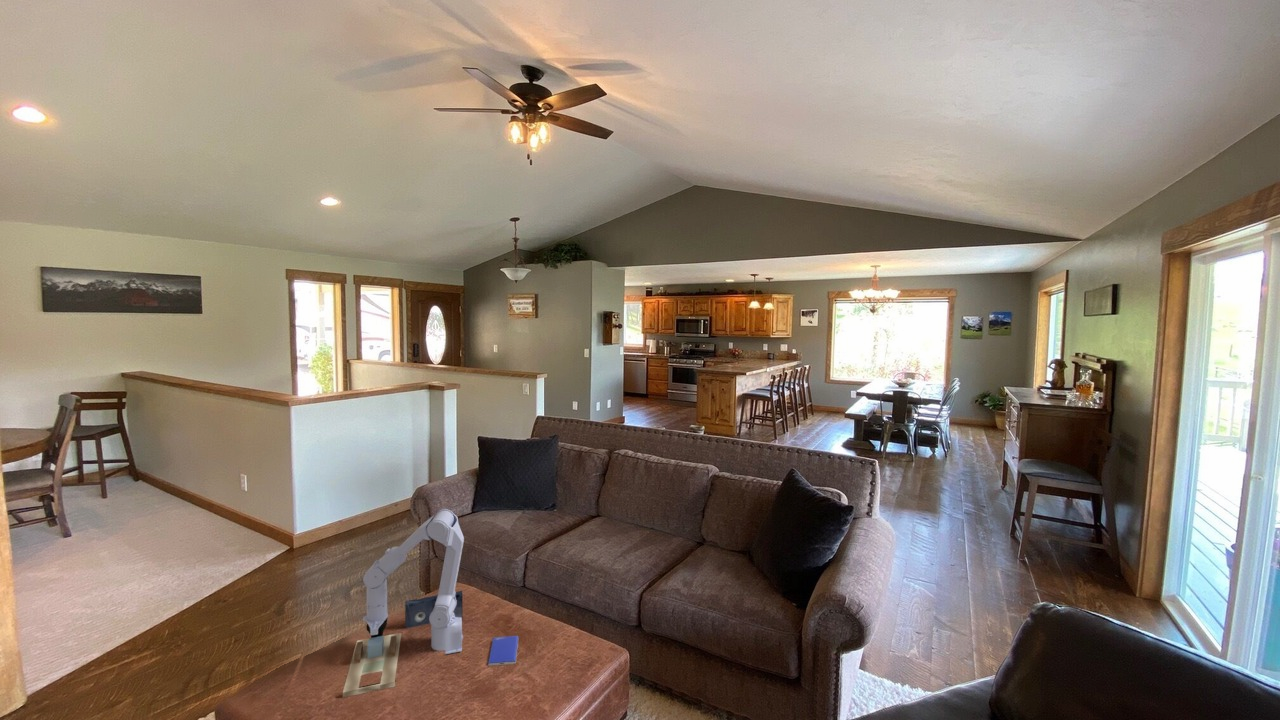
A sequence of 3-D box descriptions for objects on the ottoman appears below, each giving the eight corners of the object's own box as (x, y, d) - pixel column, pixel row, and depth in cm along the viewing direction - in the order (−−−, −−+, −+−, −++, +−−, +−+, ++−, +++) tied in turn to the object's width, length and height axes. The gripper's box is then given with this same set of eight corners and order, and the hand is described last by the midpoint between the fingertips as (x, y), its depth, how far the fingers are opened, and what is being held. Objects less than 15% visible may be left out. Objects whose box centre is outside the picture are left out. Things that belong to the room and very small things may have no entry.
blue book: (493, 637, 168) (488, 662, 156) (518, 635, 169) (515, 660, 157) (493, 641, 168) (488, 667, 156) (518, 639, 169) (515, 665, 157)
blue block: (383, 647, 160) (383, 635, 160) (382, 655, 157) (382, 643, 156) (369, 650, 159) (369, 638, 159) (367, 658, 155) (367, 646, 155)
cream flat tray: (401, 637, 168) (401, 624, 168) (394, 686, 146) (394, 671, 145) (357, 644, 164) (356, 631, 163) (342, 697, 141) (342, 682, 141)
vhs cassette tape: (462, 617, 180) (462, 590, 180) (462, 621, 178) (462, 594, 177) (405, 628, 173) (405, 600, 172) (405, 633, 170) (404, 604, 170)
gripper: (366, 592, 165) (366, 632, 166) (358, 617, 152) (359, 660, 153) (390, 589, 168) (390, 628, 169) (385, 613, 154) (385, 655, 155)
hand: (377, 643), depth 161 cm, fingers closed
